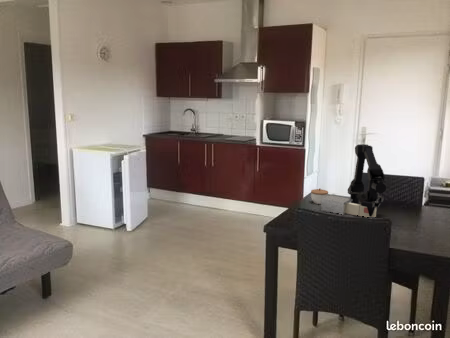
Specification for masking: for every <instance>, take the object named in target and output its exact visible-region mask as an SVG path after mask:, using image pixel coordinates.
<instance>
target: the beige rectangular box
mask: <svg viewBox="0 0 450 338" xmlns="http://www.w3.org/2000/svg"><path fill="white" fill-rule="evenodd" d="M376 209H377V210H378V208H377V207H376V208H375V210H374V212H373V214H372V216H369V212H368V208H367V207H365V206H361V203H360V204H355V203H347V204H346V211H345V214H348V215H353V216H357V215H358V216H357V217H362V216H364V217H363V218H367V217H376V218H377V210H376Z"/></svg>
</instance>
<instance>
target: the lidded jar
mask: <svg viewBox="0 0 450 338" xmlns="http://www.w3.org/2000/svg"><path fill="white" fill-rule="evenodd" d="M326 196H329V191H328V190H326V189H321V188H317V189H316V188H314V189H311V191H310V197H311V201H313V203H314V204H317V205H321V200H322V198H324V197H326Z"/></svg>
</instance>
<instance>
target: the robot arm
mask: <svg viewBox="0 0 450 338" xmlns="http://www.w3.org/2000/svg"><path fill="white" fill-rule="evenodd" d="M354 154H355V156H356V163H355V171H354V177H353V179H352V180H351V181H350V184H349V187H348V188H347V194H348V195H350V196H349V199H353V200H352V201H351V203H355V204H360V205H361V206H365V207H367V208H368V212H369V216H372V214H373V212H374V210H375V208H376V207H377V209H376V211H377V210H378V208H379V207H380V205H381V204H382V203H383V202H384V197H383V196H381V195H380V194H383V193H385V192H386V190H387V186H386V184H385V183H384V182H385V179H386V178H385V173H384V171H383V168H382V167H381V165H380V164H379V163H378V162H377V159H376V157H375V154H374V150H373V146H372V145H369V144H361V143H360V144H359V143H357V145H356V146H355V147H354ZM365 162H366V163H367V165H368V167H367V170H366V171H367V173H366V174H367V178H368V189H367V190H366V192H365V184H364V183H363V181H362V180H363V176H364V168H365V164H366V163H365ZM361 200H363V201H361ZM379 201H380V202H379Z"/></svg>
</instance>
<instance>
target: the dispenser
mask: <svg viewBox="0 0 450 338" xmlns="http://www.w3.org/2000/svg"><path fill="white" fill-rule="evenodd" d="M352 200H353V199H350V197H349V198H348V197H344V196H343V197H342V196H338V195H329V194H328V196H326V197H324V198H322V200H321V204H320V211H322V212H326V213H330V212H333V213H332V214H335V213H339V214H338V215H340V214H342V215H341V216H344V215H346V213H345V211H346V204H347V203H351V201H352Z"/></svg>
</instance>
